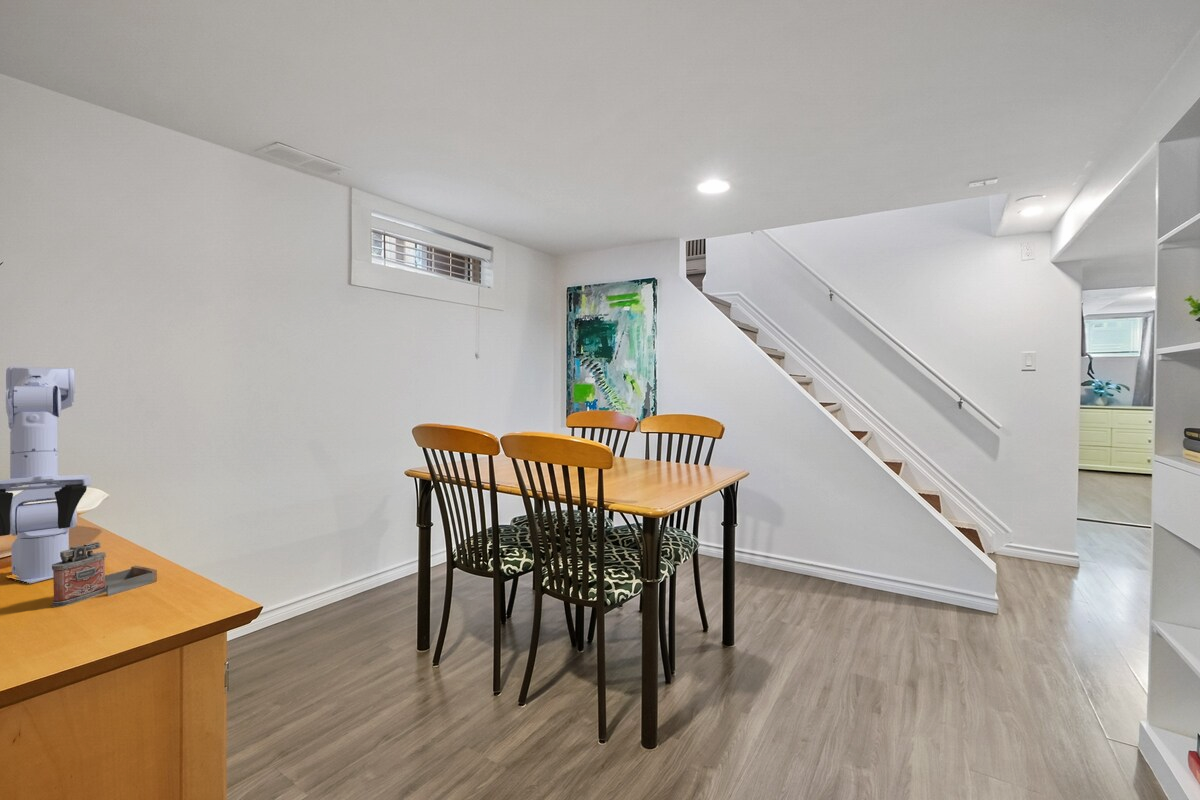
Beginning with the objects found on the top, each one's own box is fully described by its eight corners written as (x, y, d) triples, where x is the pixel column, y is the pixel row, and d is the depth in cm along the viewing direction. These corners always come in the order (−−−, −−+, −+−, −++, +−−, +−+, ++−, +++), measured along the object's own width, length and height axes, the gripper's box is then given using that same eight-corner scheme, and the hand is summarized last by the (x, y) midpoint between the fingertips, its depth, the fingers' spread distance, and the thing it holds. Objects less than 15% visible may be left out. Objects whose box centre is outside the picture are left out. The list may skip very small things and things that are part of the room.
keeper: (86, 590, 102) (86, 578, 102) (135, 576, 110) (135, 565, 110) (107, 595, 100) (107, 583, 99) (156, 581, 107) (156, 569, 107)
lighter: (61, 607, 94) (60, 552, 94) (47, 606, 95) (46, 551, 95) (111, 590, 102) (110, 540, 102) (97, 589, 103) (96, 538, 103)
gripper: (-14, 451, 84) (-14, 537, 82) (99, 449, 97) (101, 523, 96) (-36, 457, 86) (-37, 540, 84) (77, 454, 100) (78, 526, 98)
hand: (35, 531), depth 90 cm, fingers open, 7 cm apart
